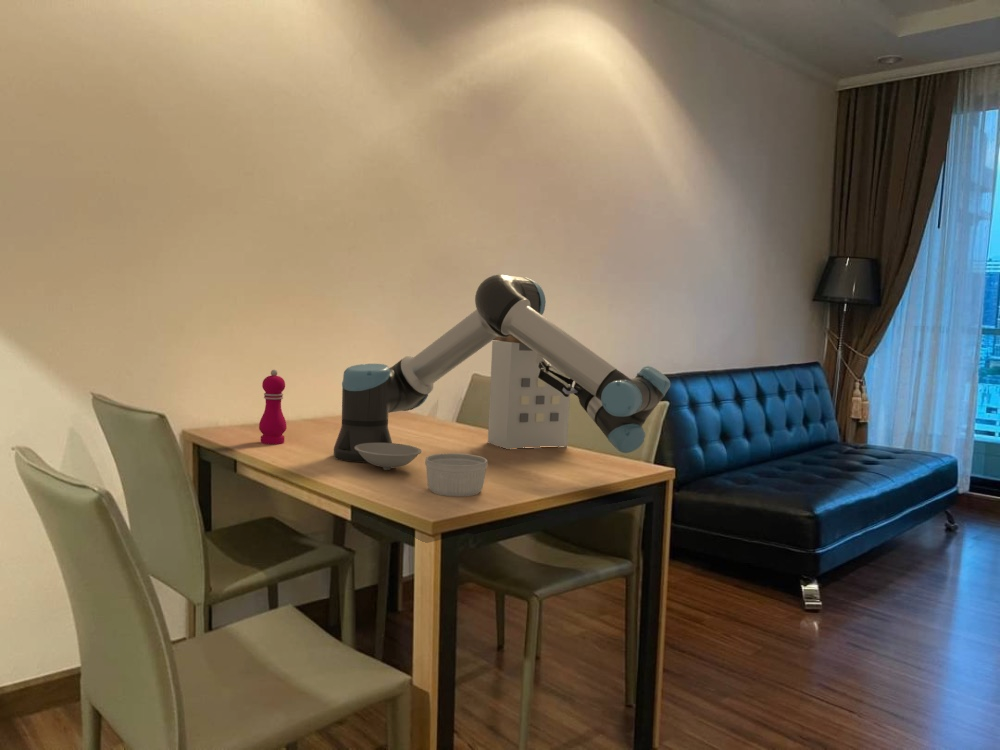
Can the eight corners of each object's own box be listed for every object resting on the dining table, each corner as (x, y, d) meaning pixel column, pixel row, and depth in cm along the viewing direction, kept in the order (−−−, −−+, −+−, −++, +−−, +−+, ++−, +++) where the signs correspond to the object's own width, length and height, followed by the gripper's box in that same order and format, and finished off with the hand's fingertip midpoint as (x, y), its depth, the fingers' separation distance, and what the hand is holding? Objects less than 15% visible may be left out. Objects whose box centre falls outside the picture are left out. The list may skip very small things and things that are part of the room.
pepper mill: (290, 441, 215) (291, 369, 214) (280, 445, 208) (282, 371, 207) (264, 439, 216) (266, 368, 215) (254, 443, 209) (255, 369, 207)
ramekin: (470, 501, 157) (472, 467, 156) (412, 493, 162) (414, 460, 161) (495, 489, 169) (496, 457, 169) (440, 481, 174) (442, 450, 173)
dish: (434, 472, 183) (435, 451, 183) (387, 479, 173) (388, 457, 172) (387, 460, 195) (387, 440, 195) (339, 466, 185) (340, 445, 184)
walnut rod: (555, 346, 208) (555, 331, 208) (542, 345, 207) (543, 330, 206) (501, 340, 237) (502, 326, 237) (489, 339, 235) (490, 326, 235)
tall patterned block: (568, 447, 227) (573, 344, 224) (507, 450, 218) (512, 343, 215) (546, 440, 238) (551, 342, 236) (487, 442, 229) (492, 340, 227)
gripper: (647, 389, 190) (605, 345, 206) (559, 391, 179) (522, 343, 194) (636, 414, 193) (596, 368, 209) (550, 417, 182) (514, 369, 198)
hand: (560, 356), depth 202 cm, fingers open, 13 cm apart
